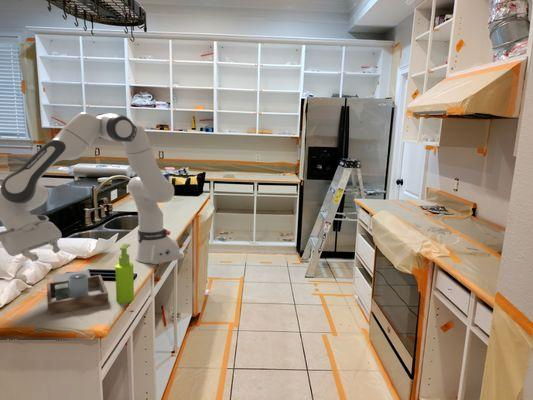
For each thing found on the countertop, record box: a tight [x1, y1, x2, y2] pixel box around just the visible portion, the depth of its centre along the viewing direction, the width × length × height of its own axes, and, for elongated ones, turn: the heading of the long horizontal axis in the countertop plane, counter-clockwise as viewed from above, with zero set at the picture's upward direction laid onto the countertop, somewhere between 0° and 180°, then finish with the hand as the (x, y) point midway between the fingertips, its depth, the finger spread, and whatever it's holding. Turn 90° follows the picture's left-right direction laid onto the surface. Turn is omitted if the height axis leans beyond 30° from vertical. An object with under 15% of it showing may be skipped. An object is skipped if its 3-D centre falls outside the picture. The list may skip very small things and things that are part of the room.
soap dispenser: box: [115, 243, 135, 304], centre depth 128 cm, size 6×7×20 cm
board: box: [52, 269, 91, 282], centre depth 143 cm, size 13×9×2 cm
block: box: [54, 283, 69, 301], centre depth 129 cm, size 4×4×4 cm
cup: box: [68, 273, 90, 299], centre depth 126 cm, size 6×6×9 cm
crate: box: [46, 274, 109, 316], centre depth 128 cm, size 18×18×4 cm
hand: (47, 255), depth 127 cm, fingers open, 8 cm apart
